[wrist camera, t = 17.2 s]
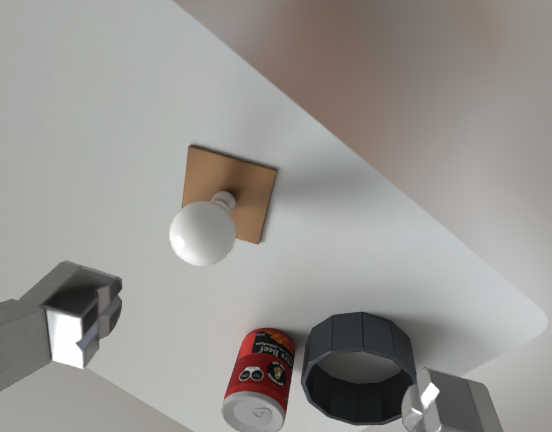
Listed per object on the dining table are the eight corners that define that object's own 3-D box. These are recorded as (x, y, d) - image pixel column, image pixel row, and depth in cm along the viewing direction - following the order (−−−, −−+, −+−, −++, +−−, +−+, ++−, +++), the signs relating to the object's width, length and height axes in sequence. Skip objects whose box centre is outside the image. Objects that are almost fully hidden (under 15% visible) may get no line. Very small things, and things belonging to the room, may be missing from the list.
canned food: (306, 347, 54) (297, 420, 44) (272, 372, 58) (257, 444, 48) (264, 317, 52) (246, 386, 43) (232, 344, 56) (208, 413, 47)
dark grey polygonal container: (430, 331, 49) (439, 370, 44) (388, 397, 56) (393, 437, 51) (323, 300, 49) (320, 335, 44) (296, 369, 56) (290, 406, 51)
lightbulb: (219, 162, 42) (180, 206, 32) (263, 198, 43) (239, 251, 33) (189, 199, 45) (145, 250, 35) (231, 232, 46) (200, 290, 36)
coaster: (276, 169, 42) (276, 171, 41) (258, 242, 47) (258, 244, 46) (189, 145, 42) (188, 146, 42) (181, 220, 47) (179, 222, 47)
